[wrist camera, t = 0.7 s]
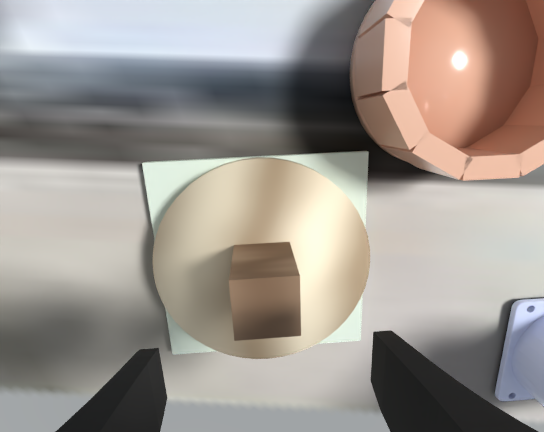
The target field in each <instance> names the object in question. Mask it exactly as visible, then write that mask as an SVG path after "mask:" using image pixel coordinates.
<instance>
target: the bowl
mask: <svg viewBox="0 0 544 432" xmlns="http://www.w3.org/2000/svg"><path fill="white" fill-rule="evenodd" d="M349 74H350V90H351V96H352V101H353V104H354V108H355V111H356V114H357V116H358V118H359V120H360V123H361V124H362V126H363V128H364V129H365V131H366V132H367V134H368V135H369V136H370V137H371V139H372V140H373V141H374V142H375V143H376V144H377V145H378V146H379V147H381V148H382V149H383V150H384V151H386V152H387V153H389V154H390V155H392V156H394V157H396V158H398V159H400V160H403V161H406V162H409V163H410V164H412V165H414V166H416V167H417V168H420V169H423V170H427V171H430V172H434V173H437V174H441V175H444V176H448V177H451V178H455V179H458V180H482V179H500V178H518V177H519V176H524V175H526V174H528V173H529V172H531V171H533V170H534V169H536V168H538V167H539V166H541V165H543V164H544V0H375V1H374V2H373V4H372V5H371V7H370V8H369V10H368V12H367V13H366V15H365V17H364V19H363V21H362V23H361V25H360V28H359V30H358V32H357V35H356V38H355V42H354V45H353V50H352V54H351V60H350V72H349Z"/></svg>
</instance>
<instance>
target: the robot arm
mask: <svg viewBox="0 0 544 432" xmlns="http://www.w3.org/2000/svg"><path fill="white" fill-rule="evenodd" d="M528 307H529V308H528ZM371 383H372V386H373V389H374V392H375V395H376V398H377V401H378V404H379V407H380V409H381V412H382V414H383V417H384V419H385V420H386V423H387V425H388V427H389V429H390V432H538V431H536V430H534V429H533V428H531V427H529V426H527V425H525V424H524V423H522V422H520V421H519V420H517V419H515V418H514V417H512V416H510V415H509V414H507V413H505V412H504V411H502V410H500V409H499V408H497V407H495V406H494V405H492V404H491V403H489V402H488V401H486V400H484V399H483V398H481V397H480V396H478V395H477V394H475V393H474V392H473V391H471V390H470V389H468V388H467V387H465V386H464V385H462V384H461V383H459V382H458V381H457V380H455V379H454V378H452V377H451V376H450V375H448V374H447V373H446V372H444V371H443V370H441V369H440V368H439V367H438V366H436V365H435V364H434V363H432V362H431V361H430V360H428V359H427V358H426V357H424V356H423V355H422V354H421V353H419V352H418V351H417V350H416V349H414V348H413V347H412V346H410V345H409V344H408V343H407V342H405V341H404V340H403V339H402V338H400V337H399V336H398V335H396V334H395V333H394V332H392V331H379V332H373V350H372V368H371ZM495 396H496V397H497V398H498V400H500V401H516V400H528V399H536V400H537V401H538V402H539V403H540V404H541V405H542V406H543V407H544V298H540V299H526V300H518V301H516V302H514V303H513V305H512V308H511V313H510V318H509V323H508V328H507V333H506V338H505V343H504V349H503V354H502V359H501V364H500V369H499V374H498V379H497V384H496V389H495ZM166 401H167V394H166V388H165V383H164V377H163V371H162V365H161V360H160V354H159V348H154V349H141V350H139V351H138V352H137V353H136V354H135V355H134V356H133V357H132V358H131V359H130V360H129V361H128V362H127V363H126V364H125V365H124V366H123V367H122V368H121V369H120V370H119V371H118V372H117V373H116V374H115V375H114V376H113V377H112V378H111V379H110V380H109V381H108V382H107V383H106V384H105V385H104V386H103V387H102V388H101V389H100V390H99V391H98V392H97V393H96V394H95V395H94V396H93V397H92V398H91V399H90V400H89V401H88V402H87V403H86V404H85V405H84V406H83V407H82V408H81V409H80V410H79V411H78V412H76V413H75V414H74V415H73V416H72V417H71V418H70V419H69V420H68V421H67V422H66V423H65V424H64V425H62V426H61V427H60V428H59V429H58V430H57V431H56V432H160V429H161V425H162V420H163V416H164V411H165V406H166Z"/></svg>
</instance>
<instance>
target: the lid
mask: <svg viewBox="0 0 544 432" xmlns="http://www.w3.org/2000/svg"><path fill="white" fill-rule="evenodd" d="M152 264H153V275H154V280H155V284H156V288H157V291H158V293H159V296H160V298H161V301H162V302H163V304H164V306H165V308H166V309H167V311H168V313H169V314H170V315H171V317H172V318H173V319H174V321H175V322H176V323H177V324H178V325H179V326H180V327H181V328H182V329H183V330H184V331H185V332H186V333H188V334H189V335H190V336H191V337H193V338H194V339H195V340H197V341H199V342H200V343H202V344H204V345H205V346H207V347H209V348H212V349H214V350H216V351H219V352H222V353H225V354H228V355H232V356H237V357H242V358H252V359H268V358H276V357H282V356H287V355H291V354H294V353H297V352H300V351H303V350H305V349H308V348H310V347H312V346H314V345H316V344H318V343H319V342H321V341H322V340H324V339H325V338H327V337H328V336H330V335H331V334H332V333H333V332H334V331H336V330H337V329H338V328H339V327H340V326H341V325H342V324H343V323H344V322H345V321H346V320H347V318H348V317H349V316H350V314H351V313H352V312H353V310H354V309H355V307H356V305H357V304H358V302H359V300H360V298H361V296H362V294H363V291H364V289H365V286H366V282H367V278H368V274H369V266H370V247H369V241H368V236H367V232H366V229H365V226H364V223H363V221H362V219H361V217H360V215H359V213H358V211H357V209H356V208H355V206H354V205H353V203H352V202H351V200H350V199H349V198H348V197H347V196H346V195H345V194H344V193H343V191H342V190H341V189H340V188H338V187H337V186H336V185H335V184H334V183H332V182H331V181H330V180H329V179H327V178H326V177H325V176H323V175H321V174H320V173H318V172H317V171H315V170H313V169H311V168H309V167H307V166H304V165H302V164H300V163H296V162H293V161H289V160H285V159H279V158H272V157H255V158H246V159H240V160H236V161H232V162H228V163H226V164H223V165H221V166H218V167H216V168H214V169H212V170H210V171H208V172H206V173H205V174H203V175H201V176H200V177H199V178H197V179H196V180H195V181H193V182H192V183H191V184H190V185H189V186H188V187H187V188H186V189H185V190H184V191H183V192H182V193H181V194H180V195H179V196H178V197H177V198H176V199H175V200H174V202H173V203H172V204H171V206H170V207H169V208H168V210H167V212H166V213H165V215H164V217H163V219H162V221H161V223H160V226H159V228H158V231H157V234H156V237H155V242H154V247H153V260H152Z"/></svg>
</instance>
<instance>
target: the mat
mask: <svg viewBox="0 0 544 432" xmlns="http://www.w3.org/2000/svg"><path fill="white" fill-rule="evenodd" d="M368 154H369V152H368V151H351V152H331V153H312V154H292V155H272V156H252V157H232V158H212V159H192V160H172V161H153V162H143V163H142V166H143V173H144V179H145V185H146V191H147V198H148V204H149V210H150V217H151V223H152V229H153V235H154V242H155V237H156V234H157V231H158V228H159V226H160V223H161V221H162V219H163V217H164V215H165V213H166V212H167V210H168V208H169V207H170V206H171V204H172V203H173V202H174V200H175V199H176V198H177V197H178V196H179V195H180V194H181V193H182V192H183V191H184V190H185V189H186V188H187V187H188V186H189V185H190V184H191V183H192V182H193V181H195V180H196V179H197V178H199V177H200V176H201V175H203V174H205V173H206V172H208V171H210V170H212V169H214V168H216V167H218V166H221V165H223V164H226V163H228V162H232V161H236V160H240V159H246V158H255V157H272V158H279V159H285V160H289V161H293V162H296V163H300V164H302V165H304V166H307V167H309V168H311V169H313V170H315V171H317V172H318V173H320V174H321V175H323V176H325V177H326V178H327V179H329V180H330V181H331V182H332V183H334V184H335V185H336V186H337V187H338V188H340V189H341V190H342V191H343V193H344V194H345V195H346V196H347V197H348V198H349V199H350V200H351V202H352V203H353V205H354V206H355V208H356V209H357V211H358V213H359V215H360V217H361V219H362V221H363V223H364V226H365V225H366V202H367V178H368ZM362 297H363V294H362V296H361V298H360V300H359V302H358V304H357V305H356V307H355V309H354V310H353V312H352V313H351V314H350V316H349V317H348V318H347V320H346V321H345V322H344V323H343V324H342V325H341V326H340V327H339V328H338V329H337V330H336V331H334V332H333V333H332V334H331V335H330V336H328V337H327V338H325V339H324V340H322V341H321V342H319V343H318V344H321V343H335V342H348V341H361V320H362ZM165 311H166V317H167V323H168V329H169V336H170V342H171V348H172V354H173V355H175V354H188V353H202V352H215V351H216V350H214V349H212V348H209V347H207V346H205V345H204V344H202V343H200V342H199V341H197V340H195V339H194V338H193V337H191V336H190V335H189V334H188V333H186V332H185V331H184V330H183V329H182V328H181V327H180V326H179V325H178V324H177V323H176V322H175V321H174V319H173V318H172V317H171V315H170V314H169V313H168V311H167V309H166V308H165Z"/></svg>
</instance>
